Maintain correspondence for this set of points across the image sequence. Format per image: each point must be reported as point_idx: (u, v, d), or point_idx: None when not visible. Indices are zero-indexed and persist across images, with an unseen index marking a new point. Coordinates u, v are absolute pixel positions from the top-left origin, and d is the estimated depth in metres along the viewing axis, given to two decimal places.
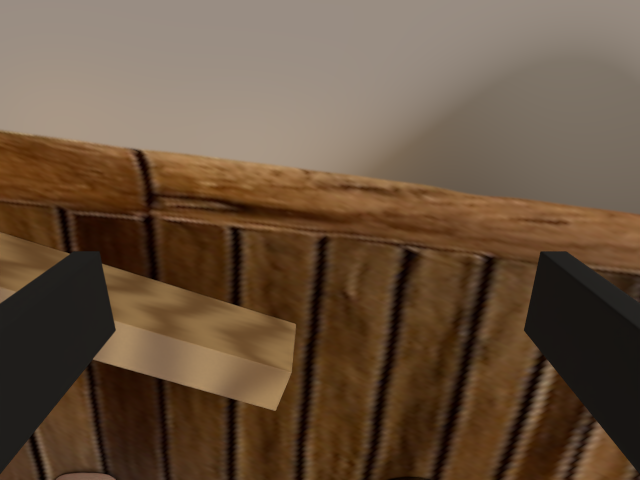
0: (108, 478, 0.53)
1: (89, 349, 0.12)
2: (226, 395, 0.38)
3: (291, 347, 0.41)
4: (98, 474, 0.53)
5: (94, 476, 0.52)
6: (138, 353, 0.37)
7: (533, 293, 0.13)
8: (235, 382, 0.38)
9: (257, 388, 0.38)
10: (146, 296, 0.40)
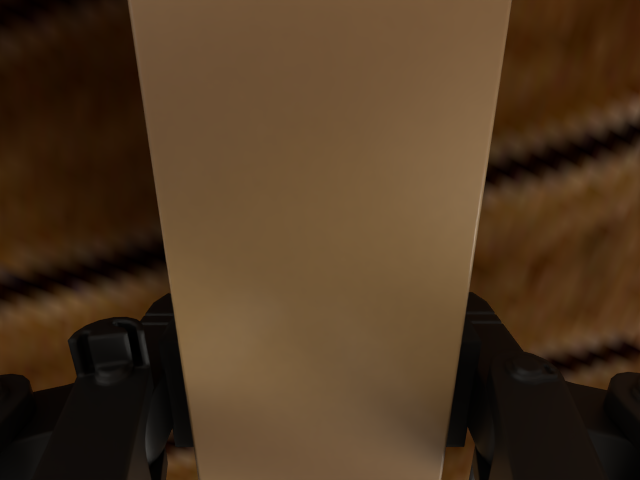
0: None
1: None
2: (201, 428, 0.08)
3: None
4: None
5: None
6: None
7: None
8: (299, 441, 0.08)
9: None
10: None
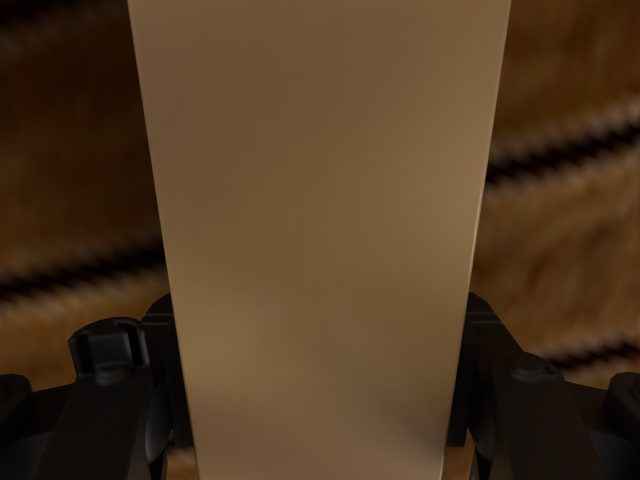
0: None
1: None
2: (201, 428, 0.08)
3: None
4: None
5: None
6: None
7: None
8: (299, 442, 0.08)
9: None
10: None
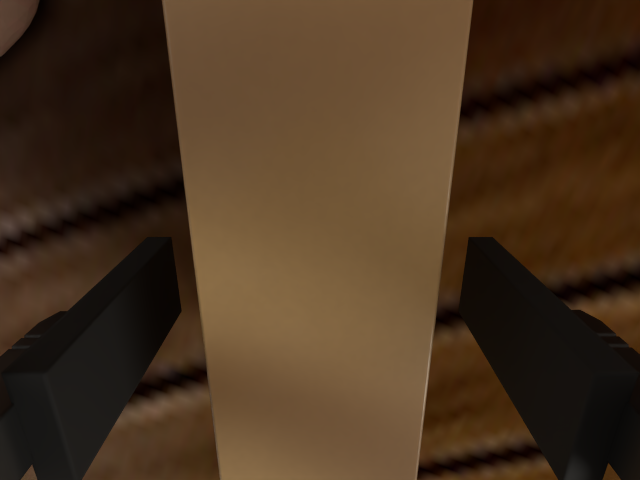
0: None
1: (165, 326, 0.13)
2: (216, 376, 0.09)
3: None
4: None
5: None
6: None
7: (464, 276, 0.14)
8: (300, 389, 0.09)
9: (303, 462, 0.10)
10: None
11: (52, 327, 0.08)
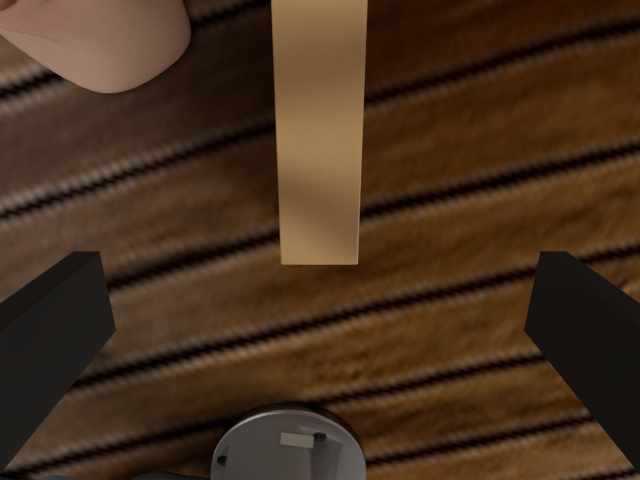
0: (186, 36, 0.28)
1: (88, 349, 0.12)
2: (281, 187, 0.24)
3: None
4: (186, 14, 0.27)
5: (180, 7, 0.27)
6: (314, 18, 0.21)
7: (533, 293, 0.13)
8: (312, 193, 0.24)
9: (313, 228, 0.25)
10: None
11: None
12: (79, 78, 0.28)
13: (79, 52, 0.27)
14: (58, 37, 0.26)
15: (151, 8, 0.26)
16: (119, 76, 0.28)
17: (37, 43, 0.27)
